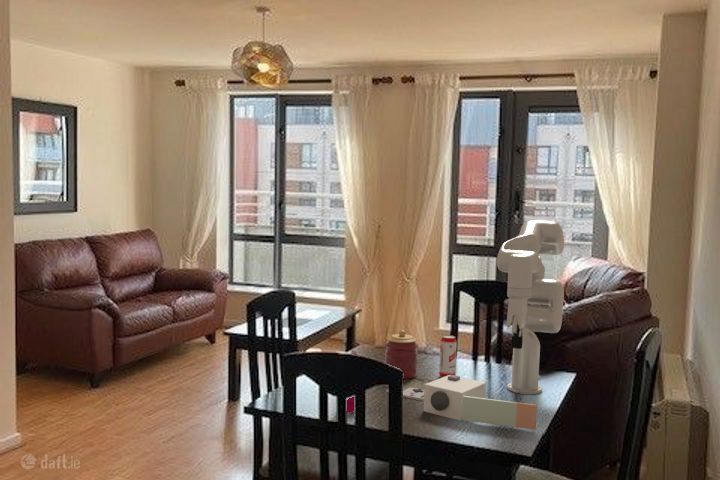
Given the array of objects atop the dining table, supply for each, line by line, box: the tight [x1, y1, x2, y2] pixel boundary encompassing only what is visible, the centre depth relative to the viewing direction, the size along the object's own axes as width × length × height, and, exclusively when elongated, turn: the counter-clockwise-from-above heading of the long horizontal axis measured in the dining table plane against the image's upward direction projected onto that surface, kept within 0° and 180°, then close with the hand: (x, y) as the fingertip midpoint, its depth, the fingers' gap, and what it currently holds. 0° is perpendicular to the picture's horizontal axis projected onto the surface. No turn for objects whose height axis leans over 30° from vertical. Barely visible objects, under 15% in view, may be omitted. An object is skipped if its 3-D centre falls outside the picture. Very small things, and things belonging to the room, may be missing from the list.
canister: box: [384, 329, 420, 380], centre depth 273 cm, size 13×13×18 cm
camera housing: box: [423, 374, 487, 422], centre depth 230 cm, size 18×14×10 cm
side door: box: [462, 396, 538, 431], centre depth 216 cm, size 22×1×8 cm, turn 72°
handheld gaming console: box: [402, 387, 424, 402], centre depth 246 cm, size 10×2×15 cm
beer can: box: [438, 334, 457, 378], centre depth 272 cm, size 6×6×16 cm
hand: (516, 347), depth 227 cm, fingers closed
